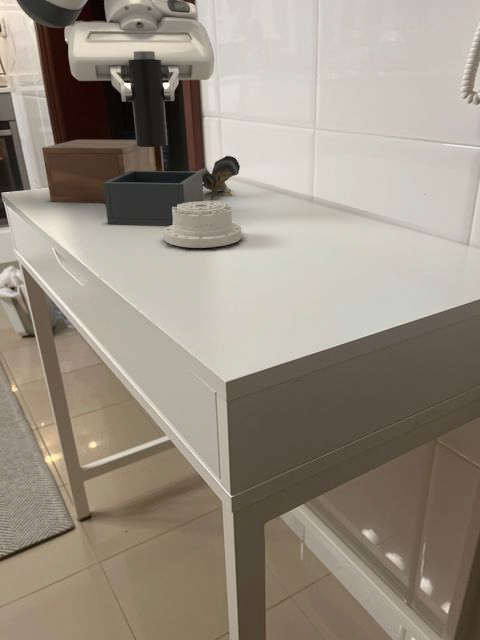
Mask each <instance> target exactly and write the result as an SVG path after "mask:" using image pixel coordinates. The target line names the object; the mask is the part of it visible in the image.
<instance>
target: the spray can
mask: <svg viewBox="0 0 480 640" xmlns="http://www.w3.org/2000/svg"><path fill="white" fill-rule="evenodd" d="M128 62H129V72H130V80H129V83H131V89H132V96H133V97H132V98H133V101H131V102H132V111H133V120H134V131H135V140H136V142H137V146H139V147H160V146H162V147H167V146H168V145H169V144H168V131H167V120H166V108H165V107H166V106H165V101H164V93H163V83H164V80H163V78H162V65H161V60H155V52H153V51H134V60H128Z"/></svg>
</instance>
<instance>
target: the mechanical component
mask: <svg viewBox="0 0 480 640" xmlns="http://www.w3.org/2000/svg"><path fill="white" fill-rule="evenodd" d="M172 215H173V225H171V226H168V225H167V227H165V228H164V229H163V237H164V238H163V239H164V241H165V242H166V243H167V244H170V245H172V246H177V247H181V248H191V249H193V248H194V249H196V248H197V249H203V248H216V247H222V246H223V247H224V246H228V245H232V244H234V243H237V242H239V241H240V240H242V227H241V225H239V224H236V223H234V222H233V217H232V216H233V215H232V206H231V205H228V203H224V202H223V201H221V202H219V201H208V200H207V201H206V200H203V201H201V202H188V203H182V204H177V207H172Z"/></svg>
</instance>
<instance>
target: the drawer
mask: <svg viewBox="0 0 480 640" xmlns="http://www.w3.org/2000/svg"><path fill="white" fill-rule="evenodd" d="M149 154H150V165H151V171H165V169H164V168H165V165H164V153H163V146H160V147H149Z"/></svg>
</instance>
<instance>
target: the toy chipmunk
mask: <svg viewBox="0 0 480 640" xmlns="http://www.w3.org/2000/svg"><path fill="white" fill-rule="evenodd" d="M240 168H241V165H240V163H239V161H238V159H237V158H236V157H234V156H232V155H226V156H224V157H222V158H219V160H216V161H215V162H214V163H213V168H212V171H211V173H210V171H209V169H208V168H206V167H204V168H201V169H200V170H198V171H197V172H202V183H203V188H205V189H206V190H209V191H211V196H210V198H211V200H213V199H215V197H216V195H218V192H219V191H223V192H224V193H225V194H227V195H229V196H230V197H231V196H232V193H231V189H230V188H229V186H228V185H227V183H226V181H227V182H228V180H229V179H230V178H232V177H233V176H234V177H235V176H237V175H238V174H239V173H240V170H241V169H240Z"/></svg>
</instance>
